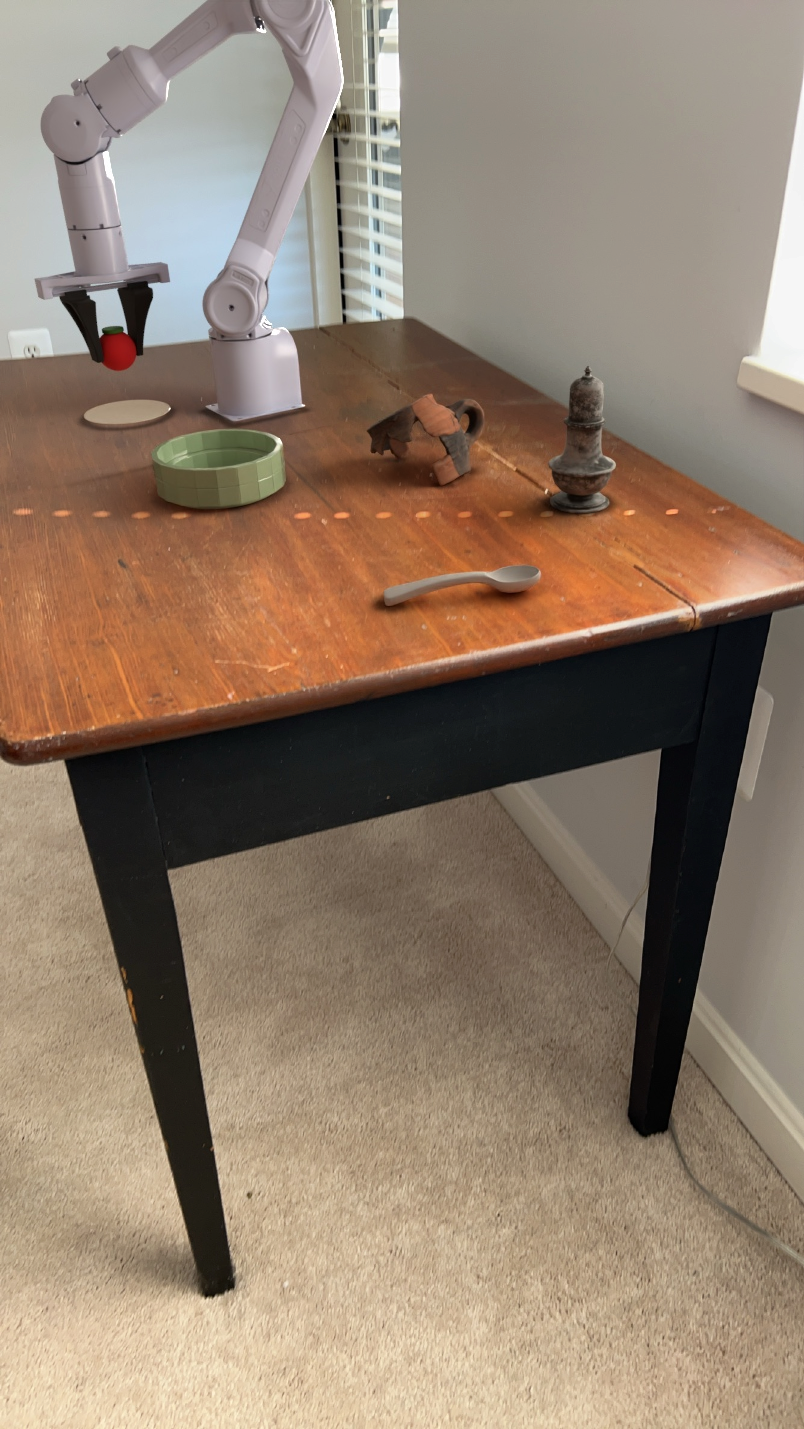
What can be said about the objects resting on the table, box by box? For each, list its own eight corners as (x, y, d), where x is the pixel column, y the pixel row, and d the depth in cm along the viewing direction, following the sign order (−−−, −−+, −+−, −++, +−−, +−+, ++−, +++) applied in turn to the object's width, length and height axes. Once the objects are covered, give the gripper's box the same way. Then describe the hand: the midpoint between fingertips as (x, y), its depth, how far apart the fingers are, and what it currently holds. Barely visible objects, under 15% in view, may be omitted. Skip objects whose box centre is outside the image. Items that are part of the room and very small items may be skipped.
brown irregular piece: (423, 500, 94) (380, 419, 92) (384, 514, 103) (344, 440, 101) (519, 442, 98) (480, 363, 96) (474, 460, 106) (437, 388, 104)
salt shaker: (540, 492, 93) (546, 359, 87) (603, 488, 94) (613, 355, 87) (554, 516, 88) (561, 376, 82) (620, 512, 89) (632, 372, 82)
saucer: (151, 399, 125) (150, 394, 125) (184, 417, 118) (183, 412, 118) (72, 414, 121) (71, 409, 120) (102, 434, 114) (101, 429, 113)
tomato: (131, 363, 119) (123, 322, 116) (145, 370, 116) (138, 327, 113) (95, 370, 117) (86, 328, 114) (108, 377, 114) (100, 334, 111)
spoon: (546, 593, 75) (545, 568, 74) (388, 620, 74) (385, 595, 73) (535, 577, 78) (534, 553, 77) (383, 602, 77) (380, 579, 76)
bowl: (250, 459, 104) (246, 421, 102) (309, 492, 96) (305, 450, 93) (138, 485, 99) (131, 445, 97) (189, 522, 90) (183, 479, 88)
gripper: (144, 216, 115) (163, 341, 122) (16, 230, 108) (44, 361, 115) (168, 221, 110) (187, 351, 117) (35, 236, 103) (64, 373, 110)
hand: (118, 357), depth 116 cm, fingers closed on tomato, 4 cm apart
